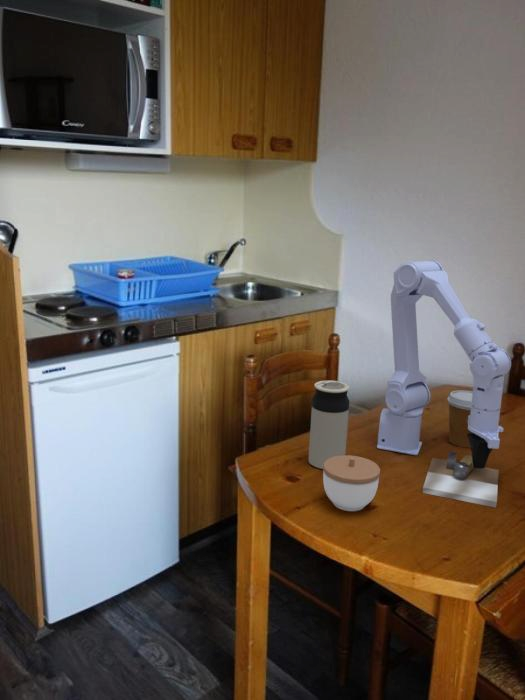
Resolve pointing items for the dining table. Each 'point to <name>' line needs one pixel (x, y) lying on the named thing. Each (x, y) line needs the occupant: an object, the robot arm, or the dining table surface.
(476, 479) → the door edge board
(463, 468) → the bar
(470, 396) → the disposable coffee cup
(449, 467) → the keeper block
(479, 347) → the robot arm
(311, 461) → the travel mug
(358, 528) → the dining table surface
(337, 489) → the lidded jar
